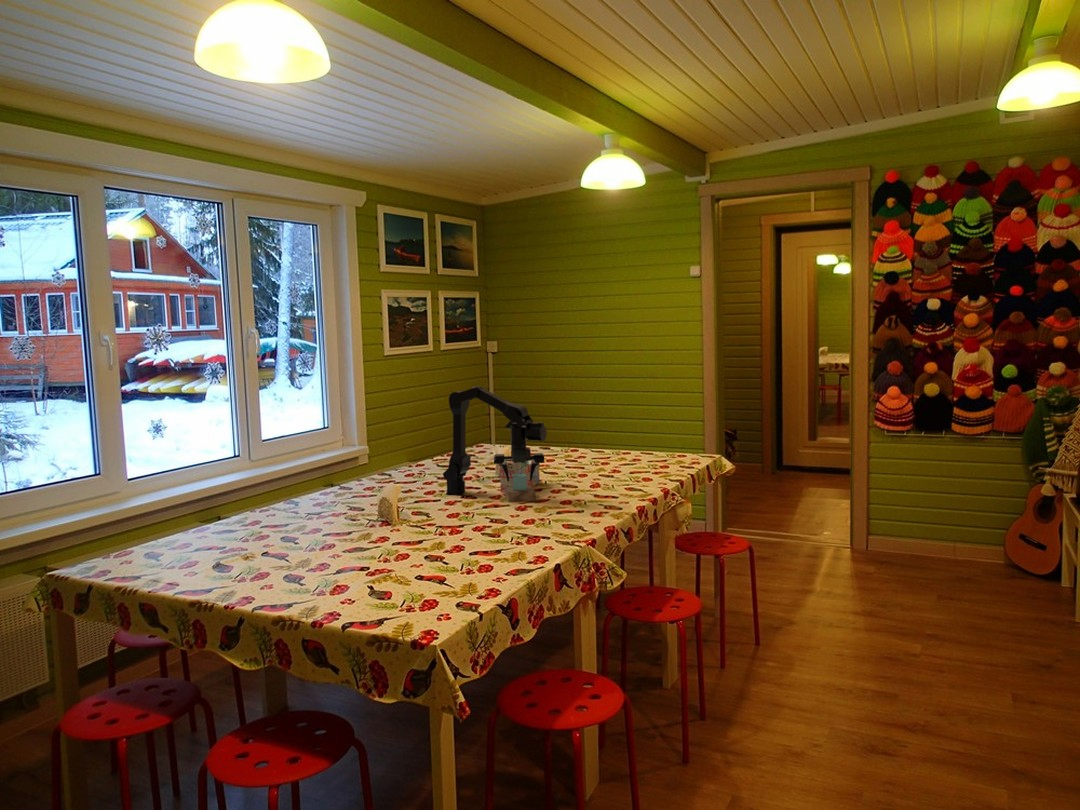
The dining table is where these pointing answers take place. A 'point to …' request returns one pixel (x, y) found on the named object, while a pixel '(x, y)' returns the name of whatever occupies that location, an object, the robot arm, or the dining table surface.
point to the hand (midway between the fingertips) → (519, 481)
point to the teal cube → (519, 482)
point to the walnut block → (520, 494)
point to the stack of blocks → (518, 469)
